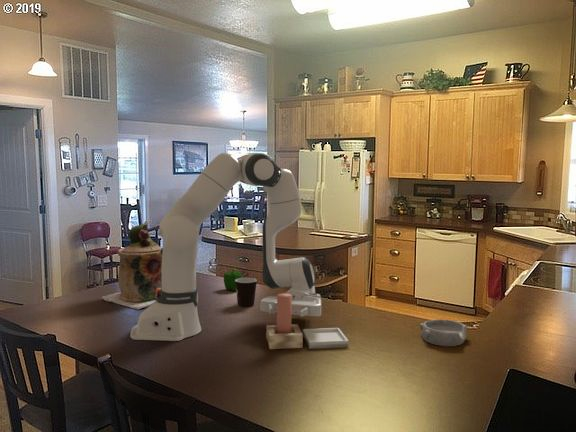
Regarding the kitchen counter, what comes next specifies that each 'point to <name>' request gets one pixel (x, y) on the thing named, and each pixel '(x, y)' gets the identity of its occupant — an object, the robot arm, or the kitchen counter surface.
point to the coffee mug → (245, 291)
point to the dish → (443, 332)
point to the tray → (325, 338)
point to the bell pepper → (231, 279)
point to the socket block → (284, 338)
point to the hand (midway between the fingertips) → (285, 312)
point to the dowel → (284, 313)
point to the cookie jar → (138, 270)
